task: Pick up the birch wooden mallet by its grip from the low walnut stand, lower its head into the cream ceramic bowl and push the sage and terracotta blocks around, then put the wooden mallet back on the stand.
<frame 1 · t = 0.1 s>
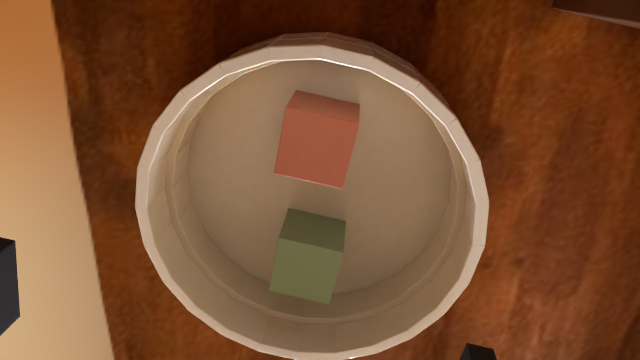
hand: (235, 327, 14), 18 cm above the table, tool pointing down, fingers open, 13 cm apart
bowl: (316, 182, 32), on the table
terracotta block: (321, 127, 29), point 1 cm above the table, touching bowl
sage block: (311, 239, 33), point 1 cm above the table, touching bowl
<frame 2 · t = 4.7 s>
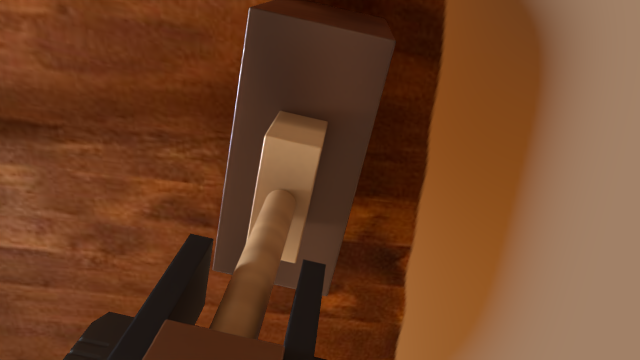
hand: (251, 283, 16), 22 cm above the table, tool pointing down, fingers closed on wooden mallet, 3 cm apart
wooden mallet: (293, 169, 25), point 12 cm above the table, touching gripper, stand
stand: (314, 110, 36), on the table
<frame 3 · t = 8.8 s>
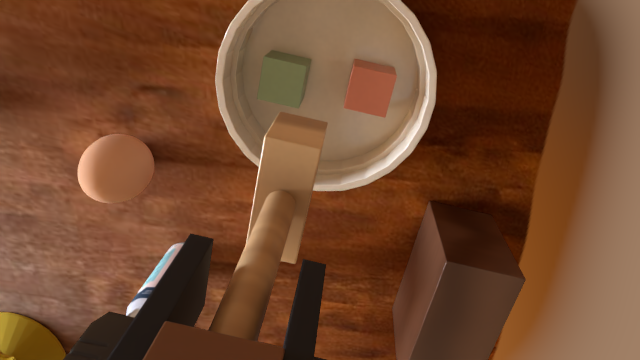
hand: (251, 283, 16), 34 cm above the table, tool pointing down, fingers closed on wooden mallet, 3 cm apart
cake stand: (19, 351, 66), on the table
bowl: (328, 77, 47), on the table
wooden mallet: (292, 170, 25), point 24 cm above the table, touching gripper
stand: (439, 264, 54), on the table
terracotta block: (369, 83, 46), point 1 cm above the table, touching bowl
beer can: (188, 256, 57), on the table
sage block: (287, 74, 47), point 1 cm above the table, touching bowl
egg: (136, 153, 52), on the table
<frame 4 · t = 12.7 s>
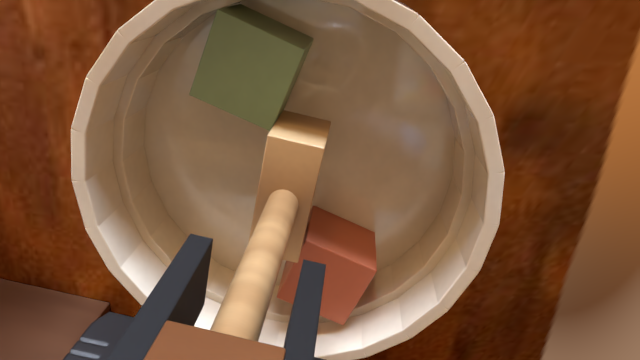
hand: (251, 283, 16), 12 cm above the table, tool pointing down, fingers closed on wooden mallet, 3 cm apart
bowl: (297, 155, 27), on the table
wooden mallet: (295, 169, 25), point 2 cm above the table, touching gripper, sage block, terracotta block
stand: (5, 318, 34), on the table
terracotta block: (330, 244, 28), point 1 cm above the table, touching bowl, wooden mallet
sage block: (262, 58, 24), point 1 cm above the table, touching bowl, wooden mallet
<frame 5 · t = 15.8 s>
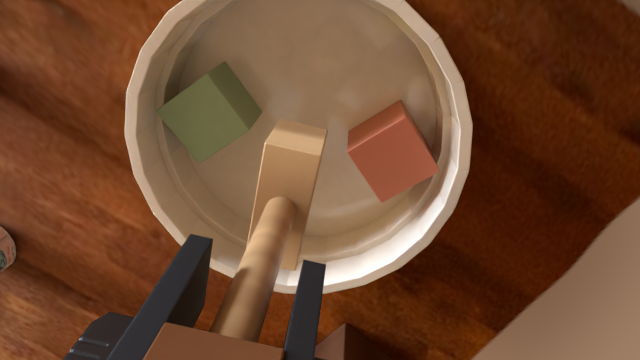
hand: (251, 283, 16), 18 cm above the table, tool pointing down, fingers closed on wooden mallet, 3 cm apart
bowl: (305, 121, 32), on the table
wooden mallet: (292, 177, 25), point 8 cm above the table, touching gripper
terracotta block: (389, 139, 31), point 1 cm above the table, touching bowl
sage block: (220, 103, 31), point 1 cm above the table, touching bowl
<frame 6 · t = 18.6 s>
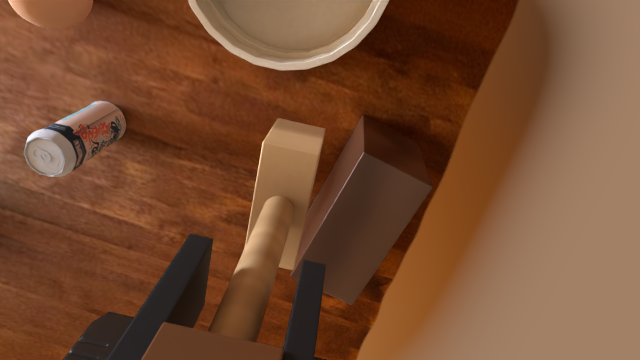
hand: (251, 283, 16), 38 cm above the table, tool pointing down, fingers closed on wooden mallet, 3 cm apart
wooden mallet: (291, 176, 25), point 28 cm above the table, touching gripper
stand: (358, 182, 55), on the table
beer can: (108, 119, 55), on the table
when the fingers open (22 cm above the table, at t = 23.5 s): wooden mallet stays where it is, resting on stand.
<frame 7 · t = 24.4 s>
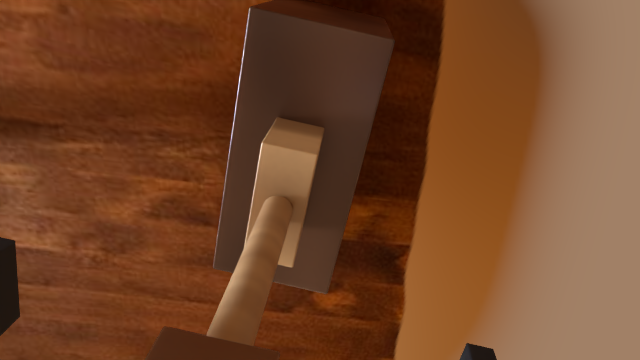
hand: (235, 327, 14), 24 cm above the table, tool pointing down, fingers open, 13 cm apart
wooden mallet: (290, 174, 25), point 12 cm above the table, touching stand
stand: (314, 109, 36), on the table
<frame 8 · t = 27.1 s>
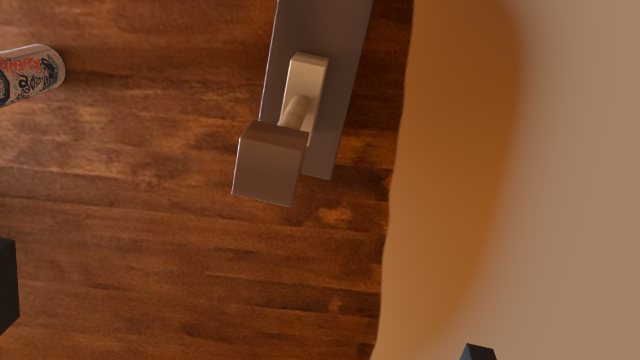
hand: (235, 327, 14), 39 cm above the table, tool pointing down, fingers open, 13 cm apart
wooden mallet: (306, 92, 38), point 12 cm above the table, touching stand
stand: (320, 61, 49), on the table
beer can: (47, 65, 52), on the table
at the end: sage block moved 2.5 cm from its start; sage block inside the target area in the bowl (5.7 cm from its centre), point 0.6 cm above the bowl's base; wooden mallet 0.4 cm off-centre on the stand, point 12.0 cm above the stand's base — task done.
